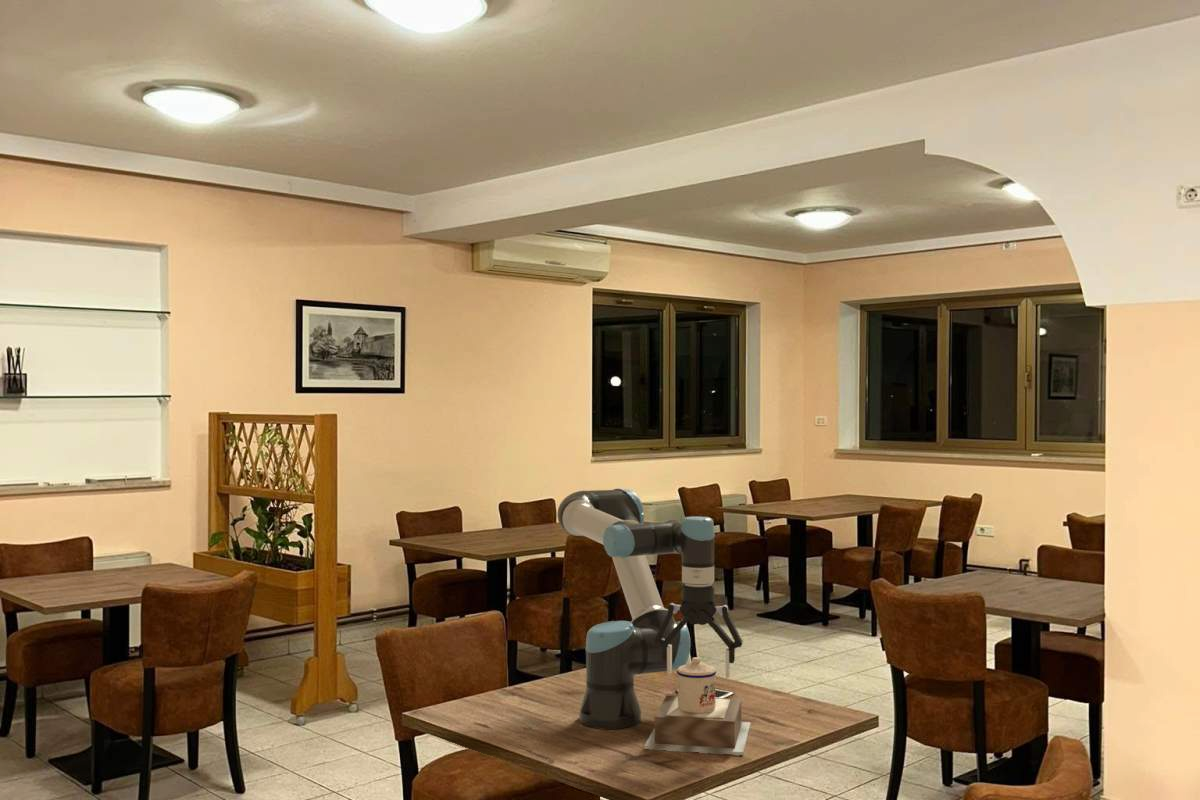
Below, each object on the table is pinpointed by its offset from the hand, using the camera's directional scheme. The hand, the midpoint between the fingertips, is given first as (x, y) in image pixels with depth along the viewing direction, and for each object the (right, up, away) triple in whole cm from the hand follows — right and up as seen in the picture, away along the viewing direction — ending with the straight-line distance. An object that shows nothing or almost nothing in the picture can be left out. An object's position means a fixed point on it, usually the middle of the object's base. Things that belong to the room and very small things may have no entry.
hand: (698, 675), depth 244 cm
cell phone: (+5, -15, +37) cm, 40 cm away
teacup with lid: (0, -8, 0) cm, 8 cm away
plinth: (0, -14, 0) cm, 14 cm away
